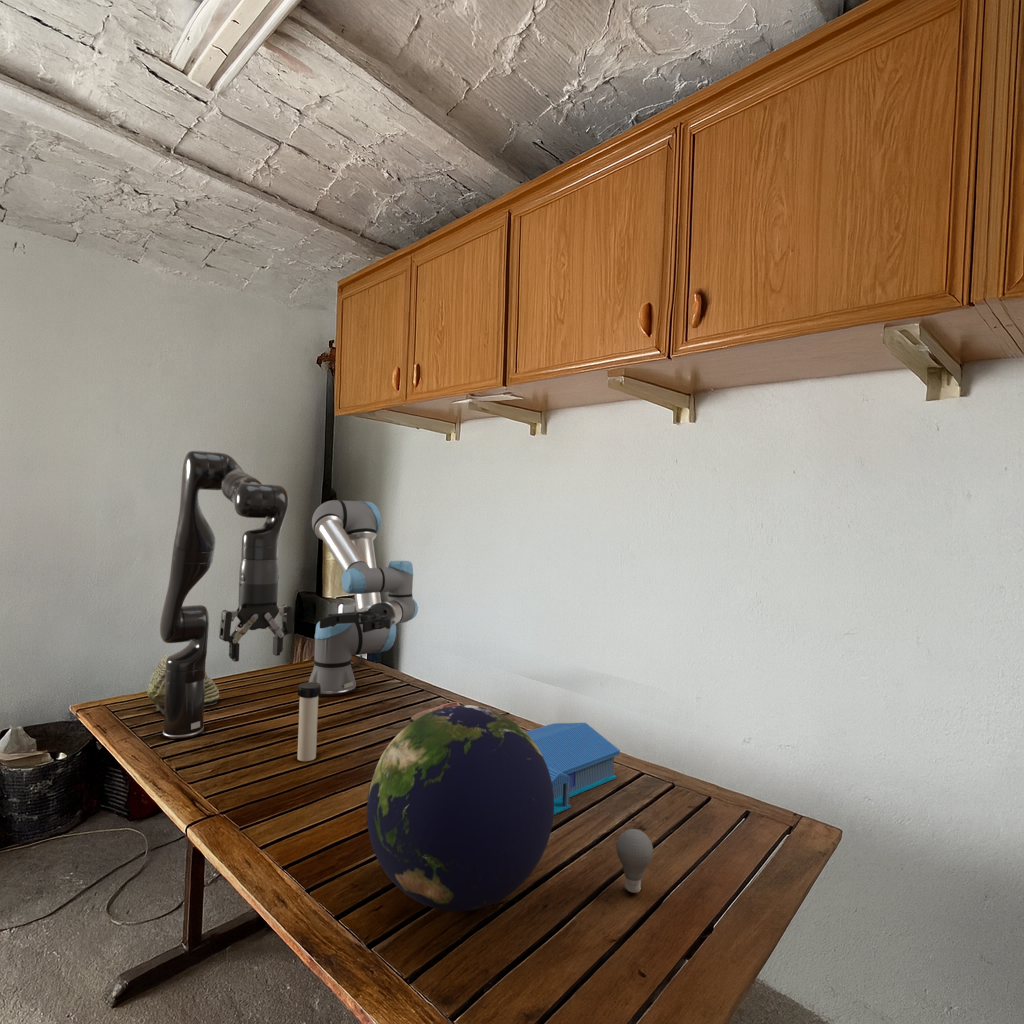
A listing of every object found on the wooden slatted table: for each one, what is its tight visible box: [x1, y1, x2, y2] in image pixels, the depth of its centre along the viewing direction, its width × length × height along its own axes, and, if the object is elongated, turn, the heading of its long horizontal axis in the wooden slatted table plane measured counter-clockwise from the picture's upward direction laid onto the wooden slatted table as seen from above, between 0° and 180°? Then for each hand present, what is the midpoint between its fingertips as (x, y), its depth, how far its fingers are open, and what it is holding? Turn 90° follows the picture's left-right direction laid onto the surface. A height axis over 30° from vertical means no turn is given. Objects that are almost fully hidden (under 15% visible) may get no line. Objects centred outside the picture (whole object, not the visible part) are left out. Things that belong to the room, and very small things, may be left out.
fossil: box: [147, 654, 221, 712], centre depth 185 cm, size 9×18×15 cm, turn 132°
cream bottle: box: [296, 696, 320, 762], centre depth 153 cm, size 4×4×17 cm
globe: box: [366, 704, 555, 913], centre depth 102 cm, size 30×30×30 cm
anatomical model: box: [410, 701, 461, 722], centre depth 184 cm, size 13×4×12 cm
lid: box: [297, 681, 321, 698], centre depth 153 cm, size 5×5×2 cm
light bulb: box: [615, 828, 654, 894], centre depth 106 cm, size 6×6×10 cm
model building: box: [525, 722, 621, 816], centre depth 143 cm, size 39×24×10 cm, turn 132°
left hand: (256, 657), depth 132 cm, fingers open, 8 cm apart
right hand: (342, 625), depth 170 cm, fingers open, 13 cm apart
